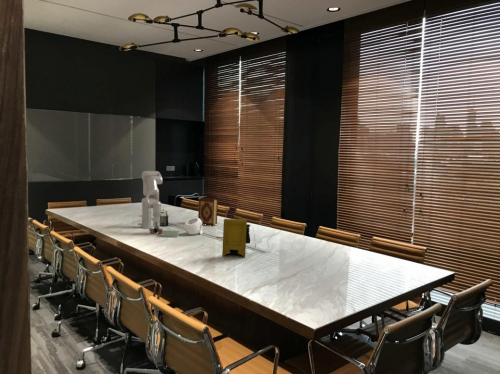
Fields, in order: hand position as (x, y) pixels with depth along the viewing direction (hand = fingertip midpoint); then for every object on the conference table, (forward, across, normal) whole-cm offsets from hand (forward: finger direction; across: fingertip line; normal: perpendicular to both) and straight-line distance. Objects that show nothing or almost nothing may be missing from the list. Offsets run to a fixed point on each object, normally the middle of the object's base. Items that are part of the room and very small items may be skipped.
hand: (156, 232), depth 376 cm
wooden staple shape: (+2, +2, 0) cm, 2 cm away
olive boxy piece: (+2, +74, +74) cm, 105 cm away
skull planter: (+2, -4, +37) cm, 37 cm away
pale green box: (+2, +8, +15) cm, 17 cm away
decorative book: (+2, -59, +47) cm, 75 cm away
